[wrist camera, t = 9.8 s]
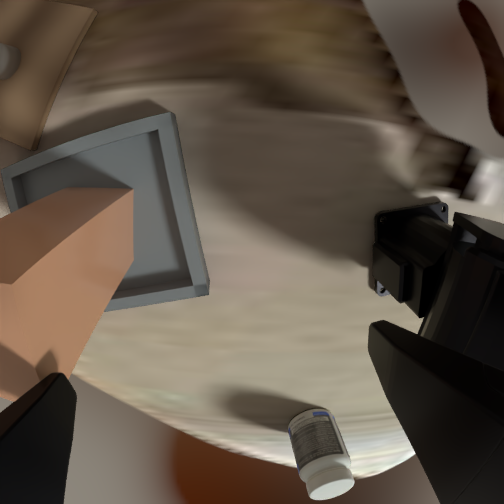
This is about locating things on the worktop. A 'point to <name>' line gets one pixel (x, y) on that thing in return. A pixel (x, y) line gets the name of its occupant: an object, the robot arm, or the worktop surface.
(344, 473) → the pill bottle
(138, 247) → the tray
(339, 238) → the worktop surface
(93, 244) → the tan rectangular prism
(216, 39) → the worktop surface
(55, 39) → the peg on square base
